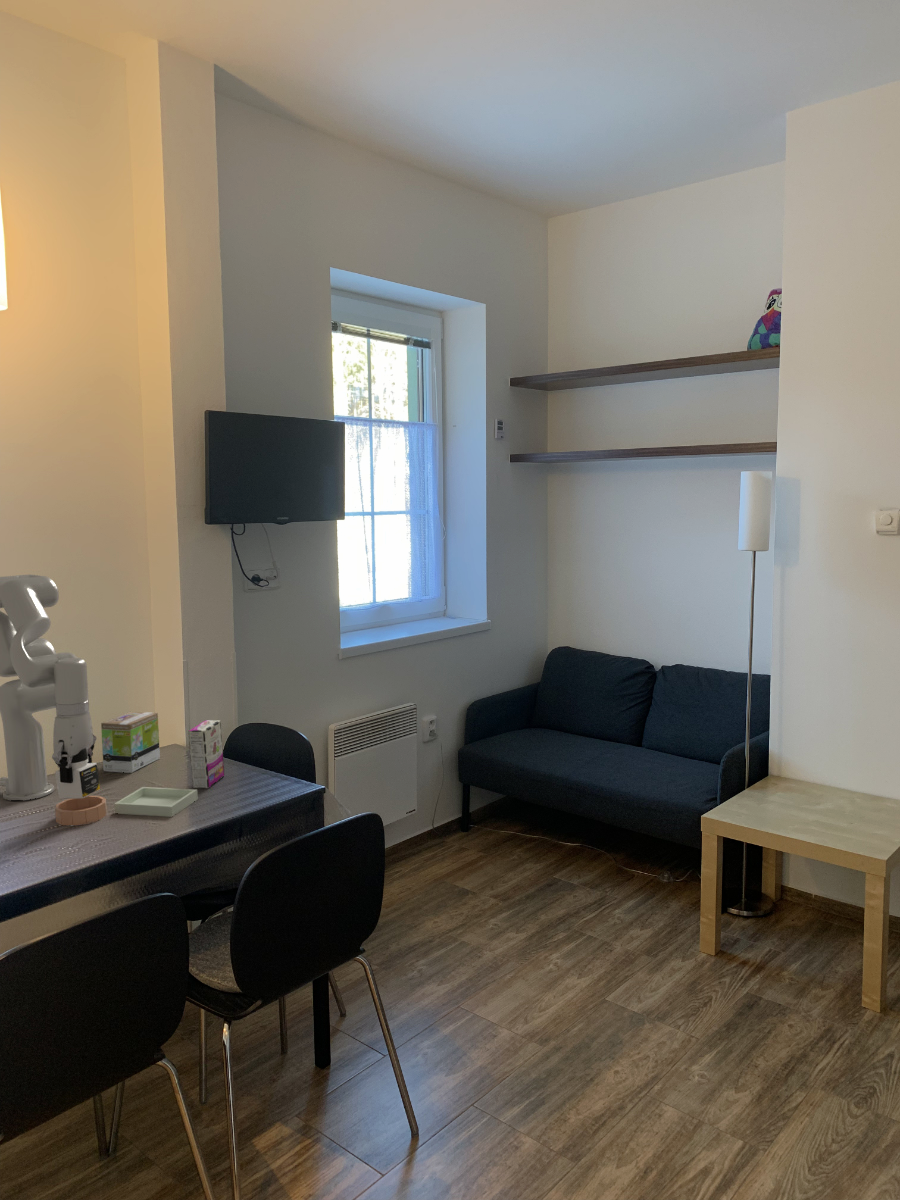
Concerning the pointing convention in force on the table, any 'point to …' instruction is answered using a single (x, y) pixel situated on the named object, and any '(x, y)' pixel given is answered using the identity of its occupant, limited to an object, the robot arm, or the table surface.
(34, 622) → the robot arm
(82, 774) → the medicine bottle
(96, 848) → the table surface
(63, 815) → the faceted tan ring
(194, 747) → the candy bar box
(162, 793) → the tray
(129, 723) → the tea box
